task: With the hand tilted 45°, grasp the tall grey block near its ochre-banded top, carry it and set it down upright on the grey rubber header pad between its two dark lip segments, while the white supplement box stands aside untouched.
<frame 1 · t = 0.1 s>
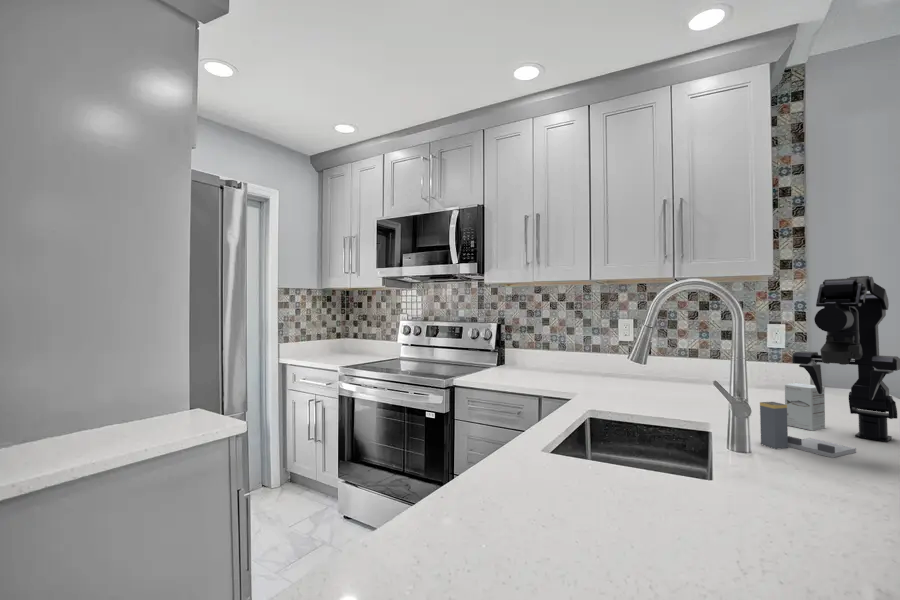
hand: (844, 396, 104), 15 cm above the worktop, tool pointing down, fingers open, 9 cm apart
grey block: (774, 446, 114), on the worktop
pad: (820, 449, 111), on the worktop
supplement box: (805, 427, 132), on the worktop
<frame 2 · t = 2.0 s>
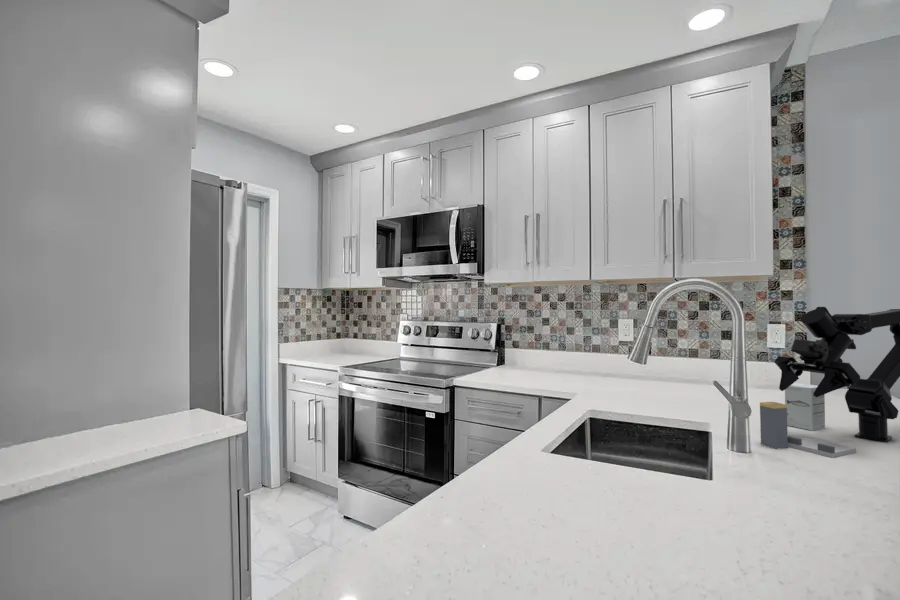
hand: (797, 392, 116), 13 cm above the worktop, tool tilted 45°, fingers open, 9 cm apart
nothing on the worktop moved.
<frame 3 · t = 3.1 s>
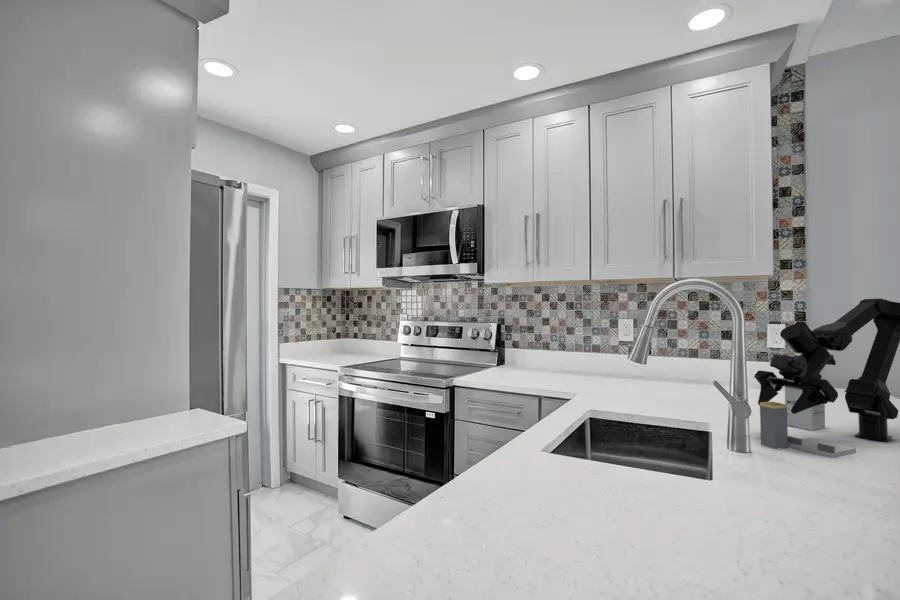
hand: (775, 408, 114), 10 cm above the worktop, tool tilted 45°, fingers open, 9 cm apart
nothing on the worktop moved.
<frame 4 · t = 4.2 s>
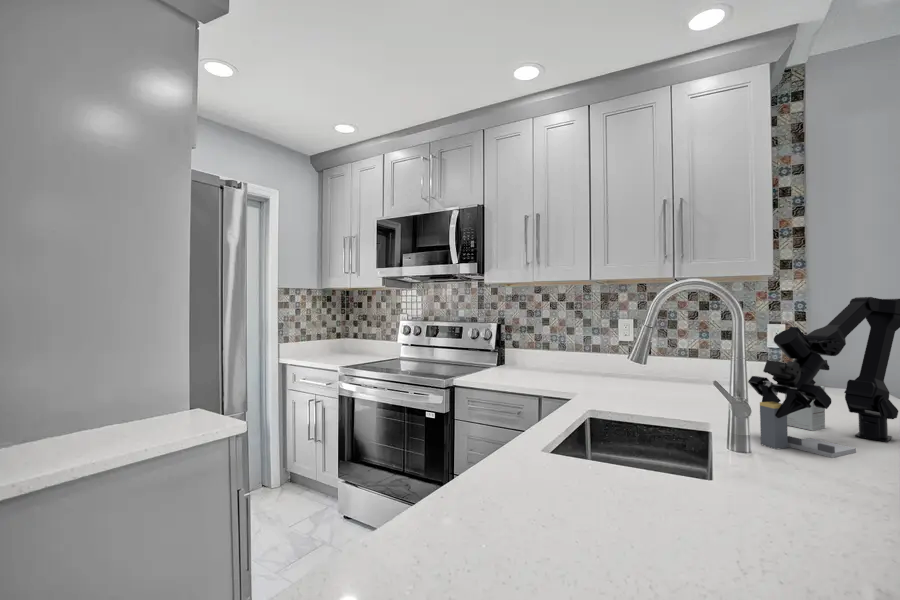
hand: (769, 414, 114), 8 cm above the worktop, tool tilted 45°, fingers closed on grey block, 4 cm apart
grey block: (774, 446, 114), on the worktop, touching gripper
everything else where it was.
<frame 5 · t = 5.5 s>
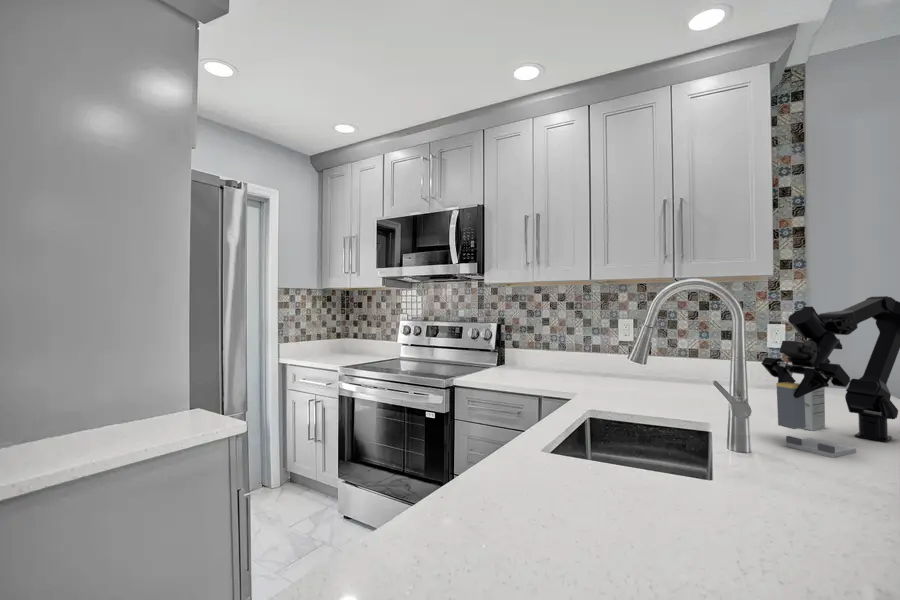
hand: (786, 395, 113), 13 cm above the worktop, tool tilted 45°, fingers closed on grey block, 4 cm apart
grey block: (791, 426, 113), point 5 cm above the worktop, touching gripper
everything else where it was.
when the fingers open (10 cm above the worktop, at t = 6.9 s): grey block stays where it is, resting on pad.
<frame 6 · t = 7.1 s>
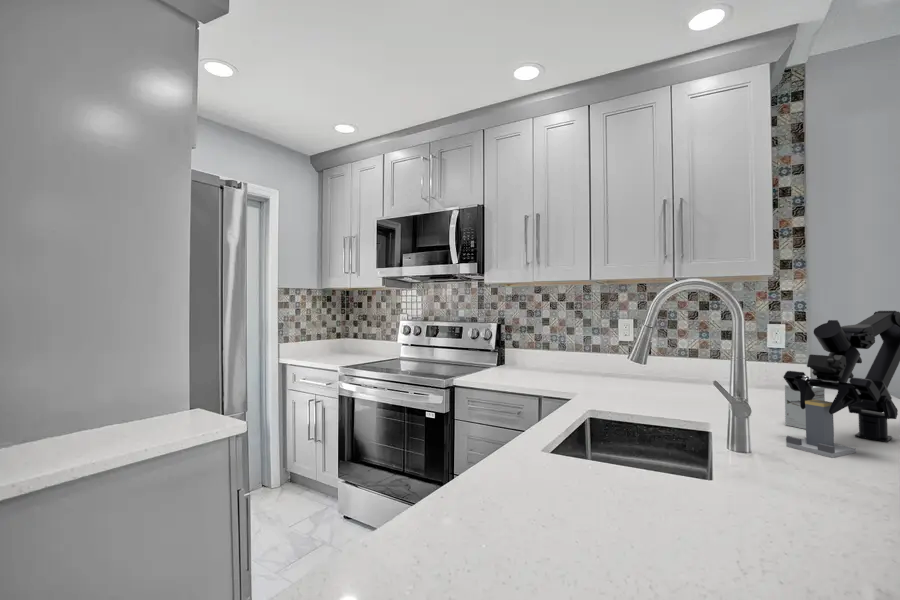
hand: (815, 410, 111), 10 cm above the worktop, tool tilted 45°, fingers open, 6 cm apart
grey block: (820, 445, 111), point 1 cm above the worktop, touching pad
everything else where it was.
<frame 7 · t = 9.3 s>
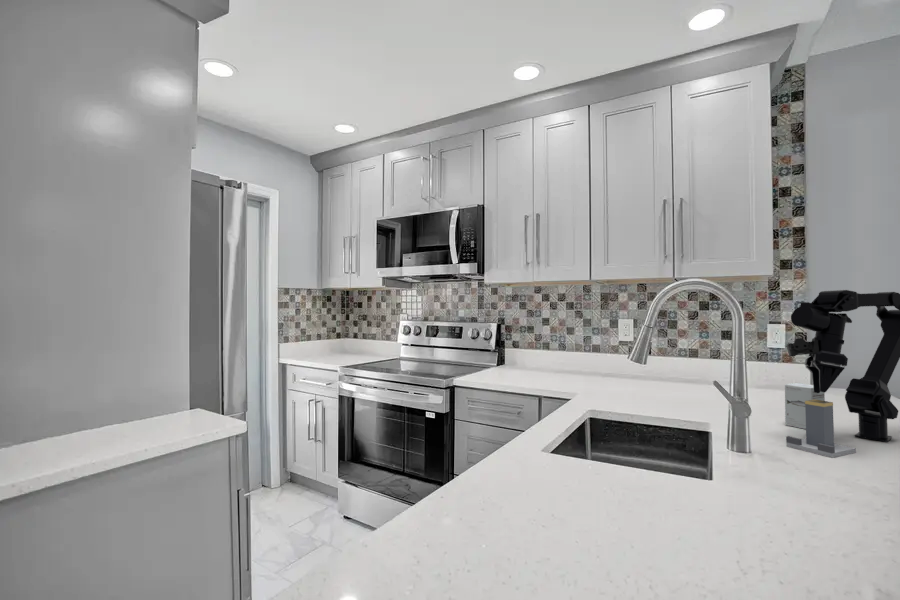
hand: (819, 392, 117), 13 cm above the worktop, tool pointing down, fingers open, 9 cm apart
nothing on the worktop moved.
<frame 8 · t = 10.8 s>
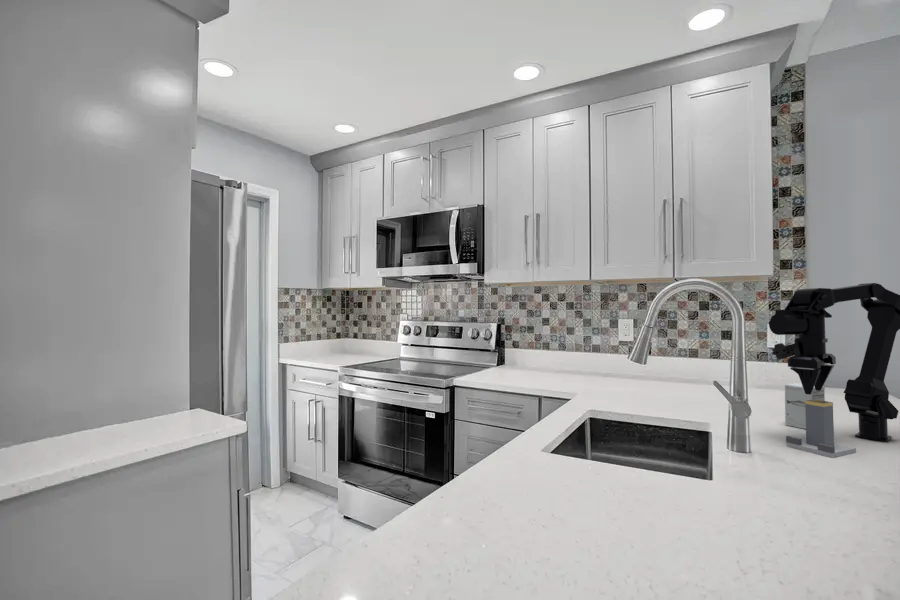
hand: (813, 392, 118), 13 cm above the worktop, tool pointing down, fingers open, 9 cm apart
nothing on the worktop moved.
at the end: grey block 0.0 cm from the pad (horizontally); grey block tilted 0°; grey block point 1.0 cm above the worktop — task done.
